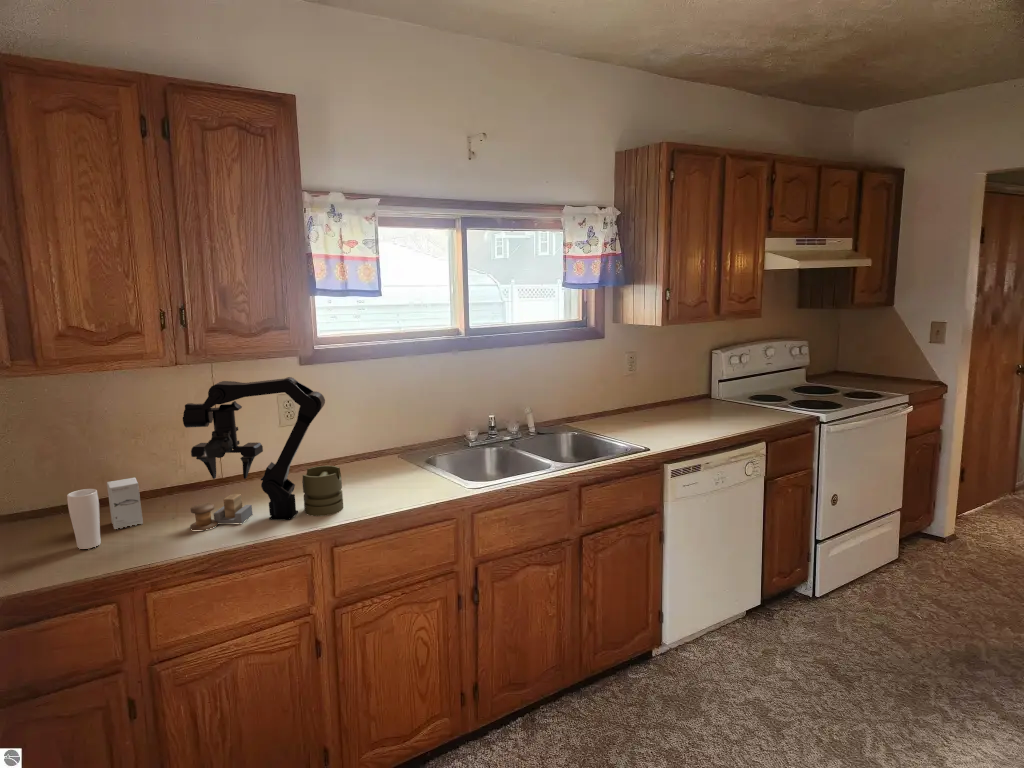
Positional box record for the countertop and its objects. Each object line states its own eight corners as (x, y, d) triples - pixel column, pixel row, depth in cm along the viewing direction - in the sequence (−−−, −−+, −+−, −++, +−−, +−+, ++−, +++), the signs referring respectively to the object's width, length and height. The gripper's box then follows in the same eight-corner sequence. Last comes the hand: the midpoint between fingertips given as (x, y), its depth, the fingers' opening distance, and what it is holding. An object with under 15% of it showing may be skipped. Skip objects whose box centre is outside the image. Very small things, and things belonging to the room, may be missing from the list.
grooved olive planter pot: (297, 477, 191) (306, 466, 202) (300, 517, 193) (309, 503, 204) (336, 476, 192) (343, 464, 203) (339, 515, 194) (346, 501, 205)
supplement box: (114, 530, 185) (108, 488, 183) (111, 523, 191) (106, 481, 189) (143, 524, 189) (138, 482, 187) (140, 517, 195) (135, 476, 193)
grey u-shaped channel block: (252, 515, 195) (251, 504, 195) (241, 524, 188) (240, 513, 188) (226, 514, 196) (225, 504, 195) (214, 523, 189) (213, 513, 188)
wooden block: (242, 511, 194) (241, 494, 193) (235, 517, 190) (233, 499, 189) (233, 511, 195) (231, 494, 194) (225, 517, 190) (223, 499, 189)
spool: (222, 521, 190) (220, 502, 189) (209, 531, 183) (207, 511, 182) (198, 521, 190) (196, 502, 189) (185, 531, 184) (183, 511, 183)
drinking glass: (71, 546, 174) (63, 493, 172) (100, 539, 179) (93, 486, 177) (77, 554, 170) (69, 498, 167) (107, 546, 174) (100, 492, 172)
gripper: (177, 432, 180) (183, 487, 182) (243, 432, 179) (248, 487, 181) (198, 423, 191) (204, 475, 193) (261, 423, 190) (265, 475, 192)
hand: (229, 478), depth 190 cm, fingers open, 9 cm apart
